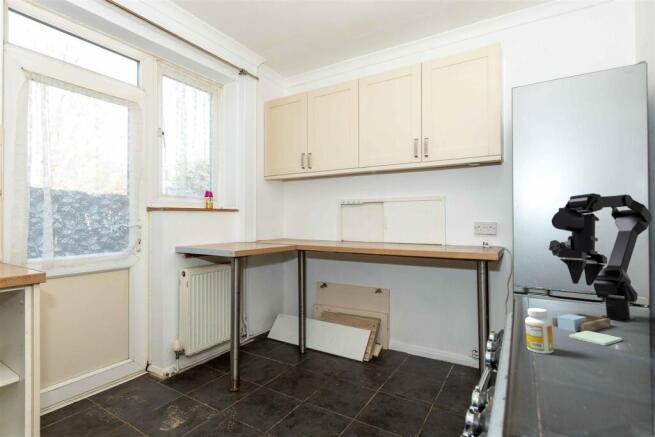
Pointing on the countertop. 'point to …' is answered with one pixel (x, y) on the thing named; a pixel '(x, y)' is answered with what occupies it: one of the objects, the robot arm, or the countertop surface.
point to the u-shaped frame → (590, 322)
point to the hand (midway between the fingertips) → (582, 284)
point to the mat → (595, 337)
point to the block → (570, 322)
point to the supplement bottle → (539, 331)
